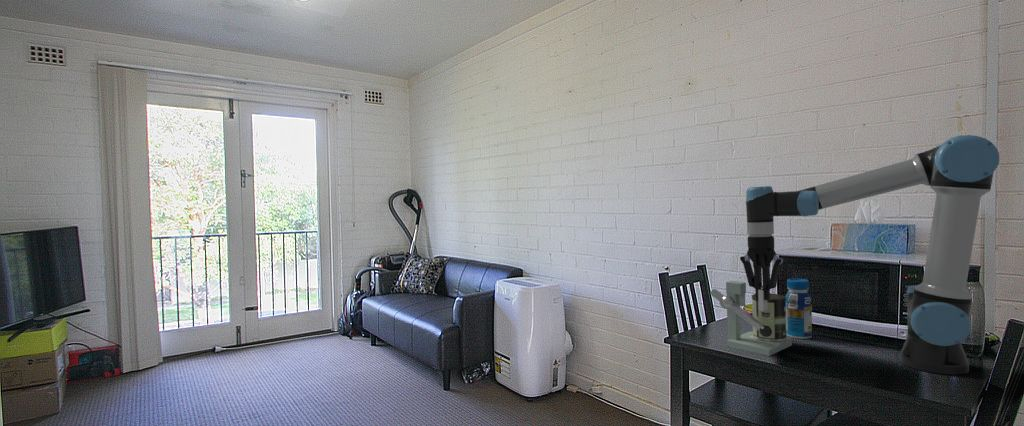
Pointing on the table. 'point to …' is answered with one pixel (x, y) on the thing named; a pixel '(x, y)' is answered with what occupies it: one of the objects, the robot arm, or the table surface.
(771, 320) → the coffee can
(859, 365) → the table surface
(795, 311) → the beverage bottle
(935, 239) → the robot arm
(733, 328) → the stand
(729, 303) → the lever
